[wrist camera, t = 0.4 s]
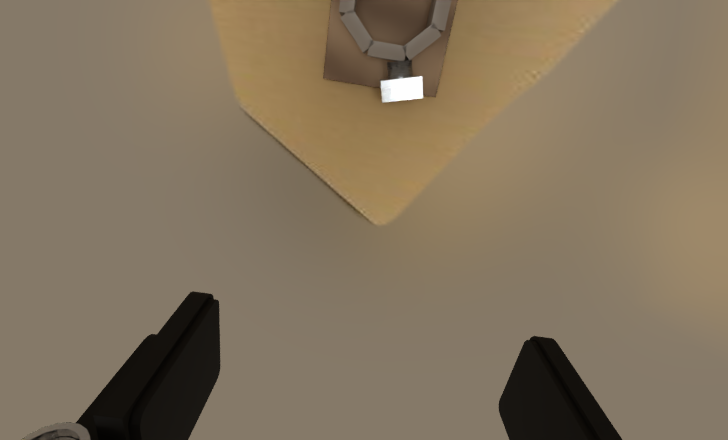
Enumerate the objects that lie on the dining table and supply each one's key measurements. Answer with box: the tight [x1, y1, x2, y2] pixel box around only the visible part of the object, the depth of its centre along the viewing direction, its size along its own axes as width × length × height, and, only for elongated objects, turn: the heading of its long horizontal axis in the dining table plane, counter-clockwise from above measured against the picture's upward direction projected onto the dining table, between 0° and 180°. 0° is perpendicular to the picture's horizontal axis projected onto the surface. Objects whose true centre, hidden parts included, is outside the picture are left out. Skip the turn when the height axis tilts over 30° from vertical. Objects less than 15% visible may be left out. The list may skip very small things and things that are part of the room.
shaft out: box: [380, 60, 423, 103], centre depth 32 cm, size 3×4×4 cm
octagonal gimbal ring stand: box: [323, 0, 457, 97], centre depth 31 cm, size 14×11×4 cm
